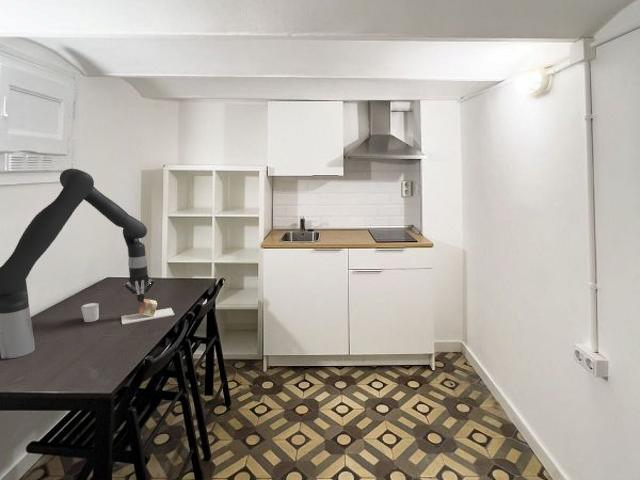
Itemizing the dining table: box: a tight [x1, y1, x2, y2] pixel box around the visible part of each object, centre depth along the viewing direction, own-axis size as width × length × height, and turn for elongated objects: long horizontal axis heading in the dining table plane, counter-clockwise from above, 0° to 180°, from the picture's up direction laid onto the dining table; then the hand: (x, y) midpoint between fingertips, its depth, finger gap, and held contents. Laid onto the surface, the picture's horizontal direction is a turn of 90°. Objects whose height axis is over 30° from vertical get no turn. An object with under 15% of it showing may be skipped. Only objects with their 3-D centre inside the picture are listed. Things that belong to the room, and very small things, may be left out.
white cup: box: [80, 302, 100, 323], centre depth 162 cm, size 7×7×7 cm
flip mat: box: [121, 307, 175, 325], centre depth 167 cm, size 22×10×1 cm, turn 121°
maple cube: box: [138, 298, 158, 316], centre depth 166 cm, size 6×6×6 cm
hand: (141, 301), depth 164 cm, fingers closed
